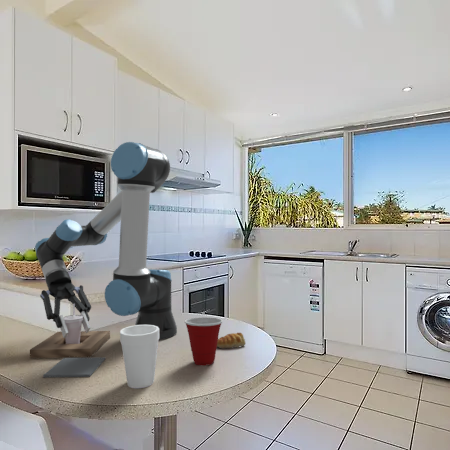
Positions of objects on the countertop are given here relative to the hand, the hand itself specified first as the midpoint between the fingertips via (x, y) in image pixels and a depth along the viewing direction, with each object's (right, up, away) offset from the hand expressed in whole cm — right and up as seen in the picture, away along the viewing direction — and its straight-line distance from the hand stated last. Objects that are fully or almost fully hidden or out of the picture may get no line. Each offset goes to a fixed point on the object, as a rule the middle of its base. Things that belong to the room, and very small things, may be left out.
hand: (77, 332), depth 113 cm
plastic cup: (+41, -5, -11) cm, 42 cm away
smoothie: (-2, -6, +3) cm, 7 cm away
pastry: (+49, -5, +2) cm, 49 cm away
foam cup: (+26, -5, -24) cm, 36 cm away
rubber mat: (+6, -5, -14) cm, 16 cm away
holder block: (-2, -5, +3) cm, 7 cm away
